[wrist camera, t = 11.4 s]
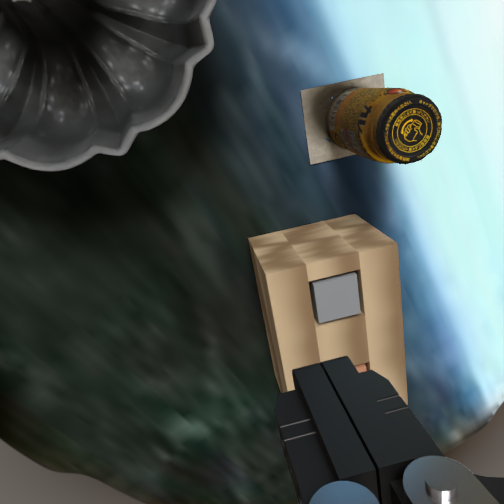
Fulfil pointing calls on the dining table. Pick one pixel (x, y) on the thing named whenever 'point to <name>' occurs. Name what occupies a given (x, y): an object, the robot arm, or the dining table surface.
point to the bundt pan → (93, 74)
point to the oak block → (300, 306)
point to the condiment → (369, 122)
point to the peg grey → (335, 296)
